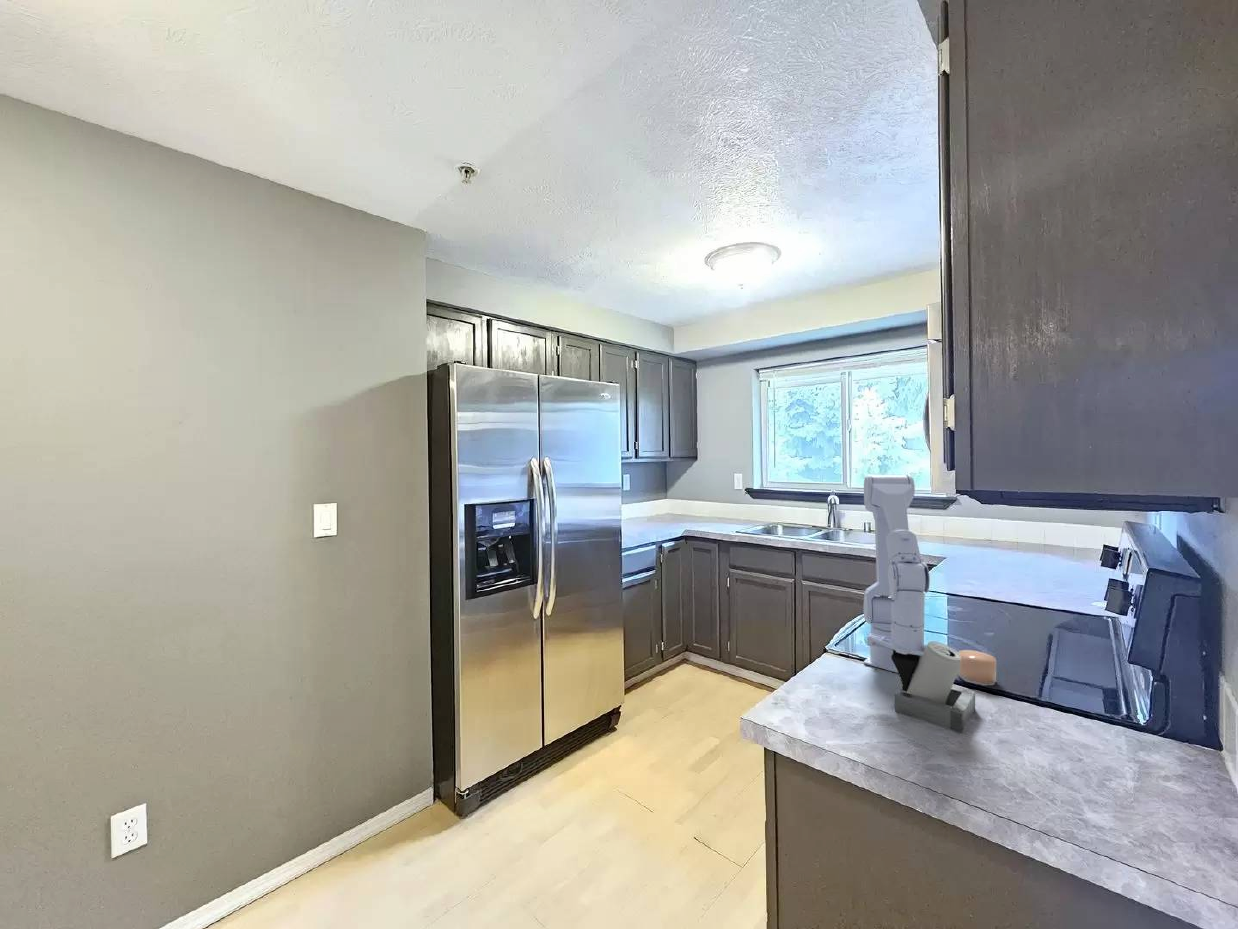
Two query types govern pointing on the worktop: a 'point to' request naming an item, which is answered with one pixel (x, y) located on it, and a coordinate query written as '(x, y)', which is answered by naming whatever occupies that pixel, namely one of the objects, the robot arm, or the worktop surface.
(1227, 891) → the worktop surface
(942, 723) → the grey piece
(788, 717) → the worktop surface
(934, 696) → the beverage can
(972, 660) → the peach cylinder plug
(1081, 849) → the worktop surface
